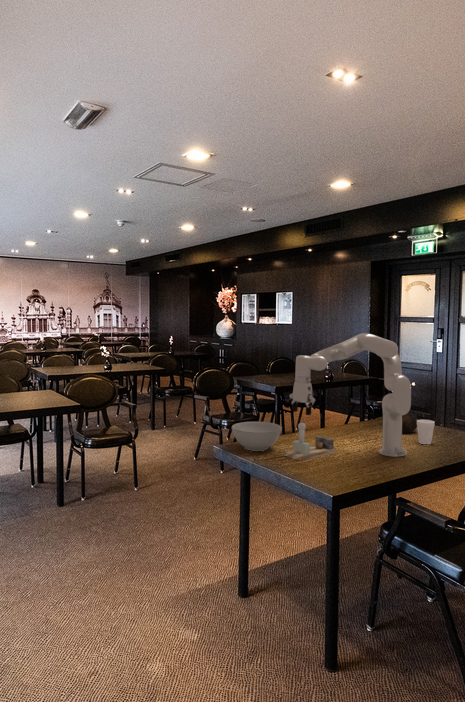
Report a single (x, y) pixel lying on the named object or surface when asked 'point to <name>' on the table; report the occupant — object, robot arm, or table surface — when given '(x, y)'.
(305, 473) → the table surface
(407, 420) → the dark brown vase
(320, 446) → the walnut
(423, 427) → the foam cup
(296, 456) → the base
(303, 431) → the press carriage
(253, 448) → the decorative bowl
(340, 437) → the table surface
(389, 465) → the table surface
